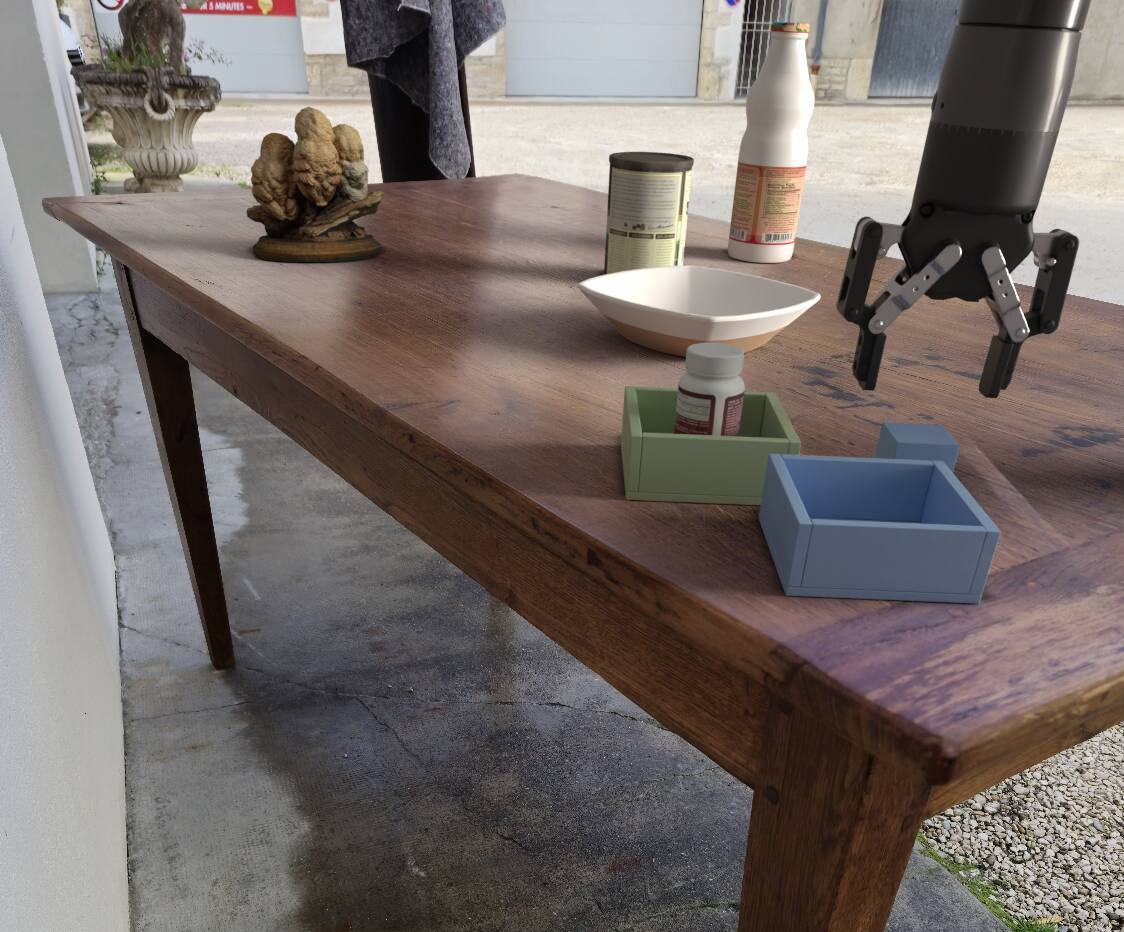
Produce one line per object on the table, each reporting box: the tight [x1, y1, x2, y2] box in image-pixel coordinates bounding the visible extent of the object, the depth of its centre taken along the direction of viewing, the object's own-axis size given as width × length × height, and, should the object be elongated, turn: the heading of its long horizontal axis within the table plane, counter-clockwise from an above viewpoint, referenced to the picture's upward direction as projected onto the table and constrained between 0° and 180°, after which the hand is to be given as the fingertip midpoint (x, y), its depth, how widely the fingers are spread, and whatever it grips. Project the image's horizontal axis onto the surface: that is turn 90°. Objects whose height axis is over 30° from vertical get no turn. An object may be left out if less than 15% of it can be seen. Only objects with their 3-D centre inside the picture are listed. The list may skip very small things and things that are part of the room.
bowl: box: [577, 264, 821, 358], centre depth 108 cm, size 22×22×5 cm
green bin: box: [620, 385, 802, 506], centre depth 77 cm, size 12×12×5 cm
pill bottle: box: [674, 343, 746, 437], centre depth 75 cm, size 5×5×8 cm
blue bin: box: [758, 454, 1002, 605], centre depth 65 cm, size 12×12×5 cm
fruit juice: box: [727, 21, 816, 264], centre depth 143 cm, size 9×9×28 cm
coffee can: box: [603, 151, 695, 275], centre depth 130 cm, size 10×10×14 cm
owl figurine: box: [246, 106, 385, 263], centre depth 135 cm, size 18×12×17 cm, turn 112°
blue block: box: [874, 421, 961, 474], centre depth 75 cm, size 4×4×4 cm
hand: (926, 391), depth 72 cm, fingers open, 8 cm apart
